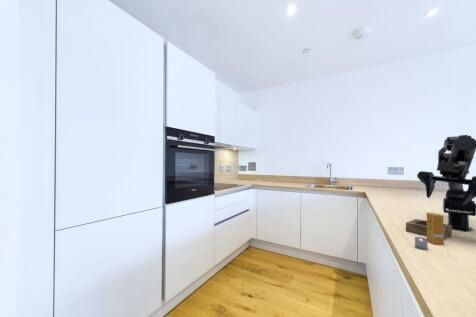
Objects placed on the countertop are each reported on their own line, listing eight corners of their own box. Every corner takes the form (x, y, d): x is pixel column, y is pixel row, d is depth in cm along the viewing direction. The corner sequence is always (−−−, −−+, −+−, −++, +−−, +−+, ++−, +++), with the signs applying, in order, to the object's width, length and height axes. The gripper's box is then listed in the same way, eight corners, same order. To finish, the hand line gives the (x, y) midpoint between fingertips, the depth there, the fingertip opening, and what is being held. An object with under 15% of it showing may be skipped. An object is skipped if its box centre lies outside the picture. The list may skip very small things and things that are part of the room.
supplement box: (445, 245, 64) (444, 215, 65) (433, 244, 65) (432, 214, 65) (437, 241, 68) (436, 212, 68) (425, 240, 68) (425, 212, 69)
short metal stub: (417, 245, 64) (416, 236, 64) (429, 248, 62) (428, 239, 62) (413, 247, 63) (413, 238, 63) (425, 251, 60) (425, 241, 60)
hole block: (416, 226, 83) (416, 218, 83) (452, 234, 74) (451, 225, 74) (406, 231, 77) (405, 222, 77) (443, 240, 68) (443, 230, 68)
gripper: (418, 151, 78) (404, 184, 75) (492, 153, 61) (477, 196, 58) (429, 166, 82) (415, 198, 80) (501, 172, 65) (487, 212, 62)
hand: (444, 200), depth 70 cm, fingers open, 9 cm apart
